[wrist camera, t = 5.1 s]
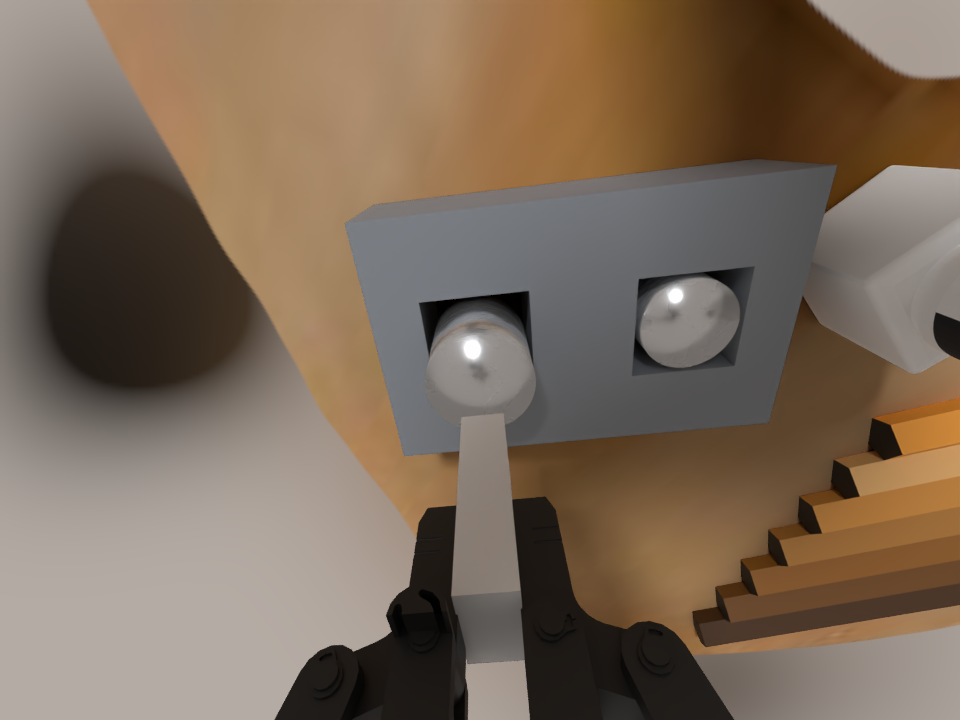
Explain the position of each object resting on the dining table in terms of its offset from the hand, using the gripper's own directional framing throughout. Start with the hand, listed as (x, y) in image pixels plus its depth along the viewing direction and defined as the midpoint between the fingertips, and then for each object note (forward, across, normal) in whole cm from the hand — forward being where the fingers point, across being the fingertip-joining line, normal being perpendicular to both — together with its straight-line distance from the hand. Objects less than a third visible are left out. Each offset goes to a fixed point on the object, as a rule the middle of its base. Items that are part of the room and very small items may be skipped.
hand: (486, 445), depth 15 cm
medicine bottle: (+14, +23, +1) cm, 27 cm away
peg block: (+14, +5, 0) cm, 15 cm away
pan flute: (+15, +29, -25) cm, 41 cm away
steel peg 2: (+13, +11, 0) cm, 17 cm away
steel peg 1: (+9, 0, 0) cm, 9 cm away
